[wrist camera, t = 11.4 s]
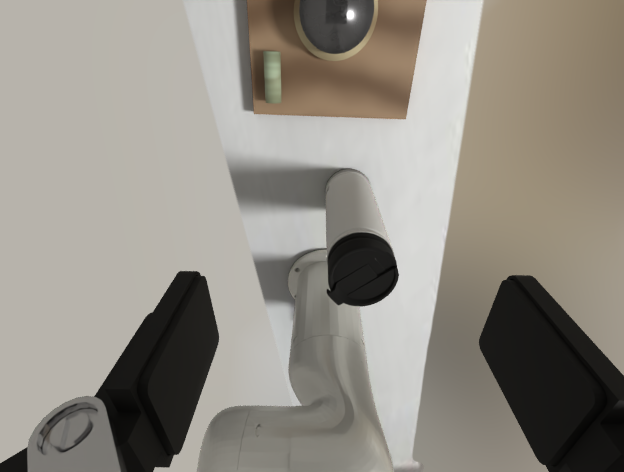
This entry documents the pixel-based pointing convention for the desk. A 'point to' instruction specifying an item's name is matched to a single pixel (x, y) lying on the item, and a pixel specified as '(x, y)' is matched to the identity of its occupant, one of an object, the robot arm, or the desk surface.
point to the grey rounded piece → (336, 23)
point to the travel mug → (357, 242)
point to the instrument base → (333, 63)
